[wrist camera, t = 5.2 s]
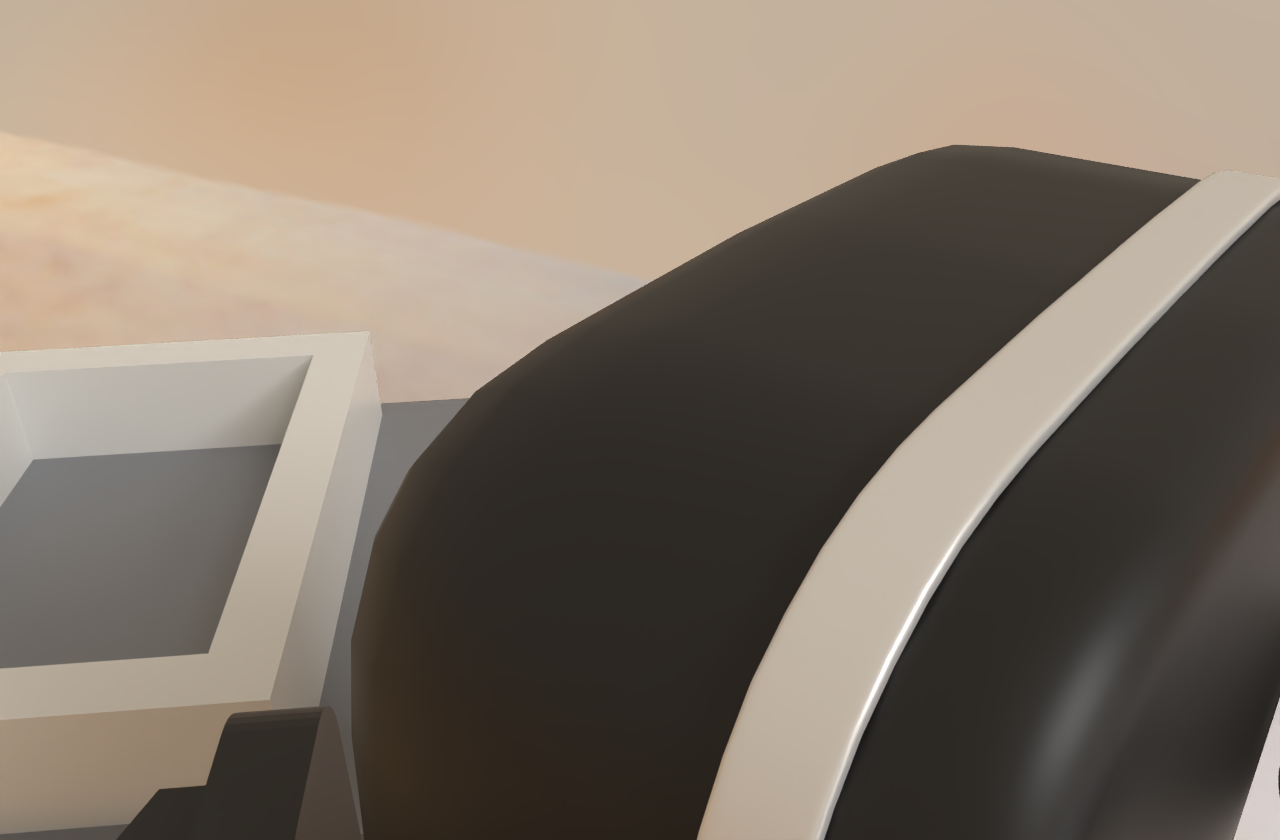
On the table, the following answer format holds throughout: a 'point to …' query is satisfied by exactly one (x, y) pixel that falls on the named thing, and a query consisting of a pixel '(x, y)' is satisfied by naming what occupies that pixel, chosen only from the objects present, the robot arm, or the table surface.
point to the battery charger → (859, 532)
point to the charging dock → (180, 557)
